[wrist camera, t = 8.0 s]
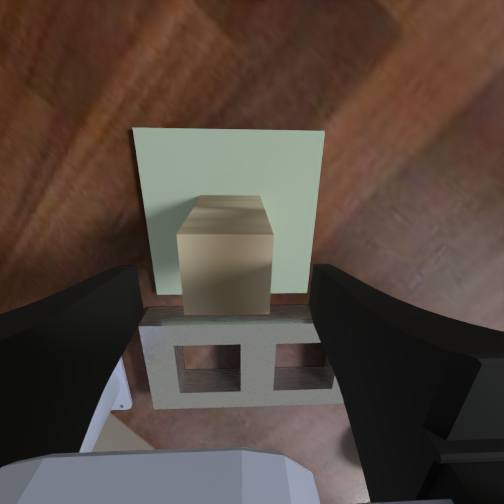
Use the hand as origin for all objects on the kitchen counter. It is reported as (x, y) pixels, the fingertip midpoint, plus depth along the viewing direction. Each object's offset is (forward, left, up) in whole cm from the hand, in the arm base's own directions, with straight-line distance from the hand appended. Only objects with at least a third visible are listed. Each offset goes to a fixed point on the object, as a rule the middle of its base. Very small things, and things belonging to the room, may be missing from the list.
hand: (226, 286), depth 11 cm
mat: (0, 0, -9) cm, 9 cm away
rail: (+2, -12, -9) cm, 15 cm away
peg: (0, 0, -9) cm, 9 cm away
